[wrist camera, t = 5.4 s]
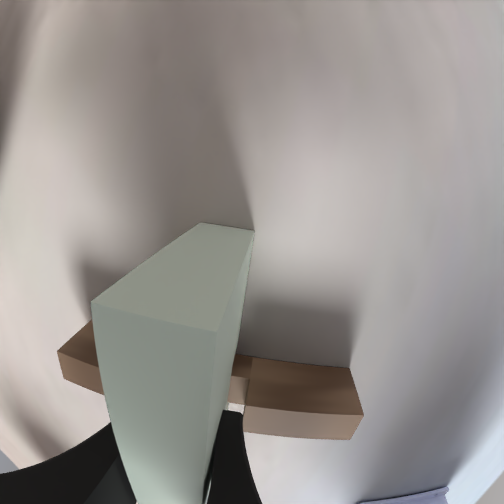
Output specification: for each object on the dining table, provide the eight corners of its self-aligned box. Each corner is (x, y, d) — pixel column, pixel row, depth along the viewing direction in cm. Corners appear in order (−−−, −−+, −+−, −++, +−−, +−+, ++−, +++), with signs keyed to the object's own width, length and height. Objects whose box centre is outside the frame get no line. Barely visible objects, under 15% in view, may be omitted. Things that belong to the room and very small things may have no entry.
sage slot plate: (200, 222, 11) (90, 301, 4) (254, 230, 11) (217, 331, 4) (187, 436, 14) (153, 538, 7) (222, 444, 14) (199, 549, 7)
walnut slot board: (349, 368, 12) (363, 414, 9) (339, 392, 12) (350, 439, 9) (92, 319, 12) (57, 351, 9) (95, 344, 13) (63, 378, 10)
